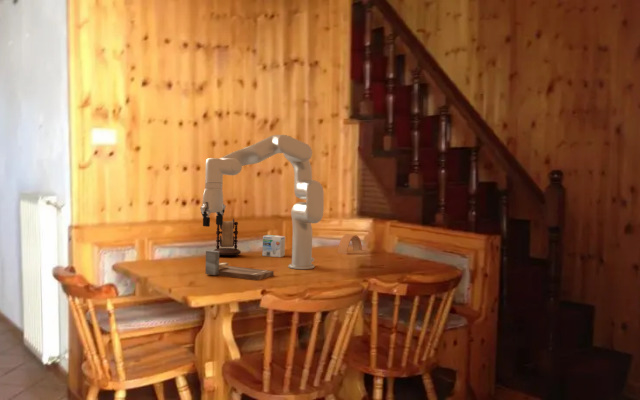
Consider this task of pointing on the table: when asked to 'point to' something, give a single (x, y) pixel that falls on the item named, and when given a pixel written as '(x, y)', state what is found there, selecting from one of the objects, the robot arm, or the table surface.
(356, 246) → the arch
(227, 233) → the brown wooden chair
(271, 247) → the light bulb box
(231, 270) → the walnut board
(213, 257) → the marking gauge
